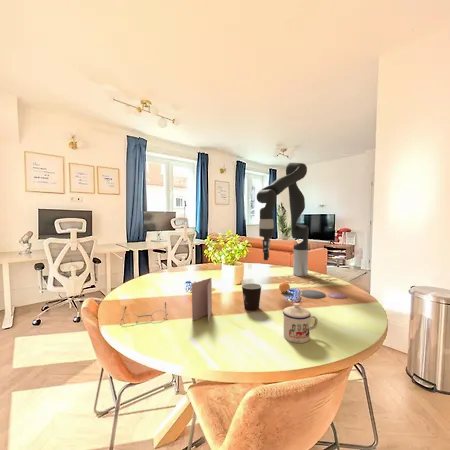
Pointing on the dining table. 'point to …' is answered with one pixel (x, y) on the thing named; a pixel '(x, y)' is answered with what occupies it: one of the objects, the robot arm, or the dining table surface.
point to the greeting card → (202, 299)
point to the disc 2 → (337, 295)
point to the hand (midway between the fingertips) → (266, 258)
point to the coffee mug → (251, 296)
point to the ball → (284, 287)
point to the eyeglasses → (144, 315)
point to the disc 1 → (313, 294)
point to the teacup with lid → (297, 324)
